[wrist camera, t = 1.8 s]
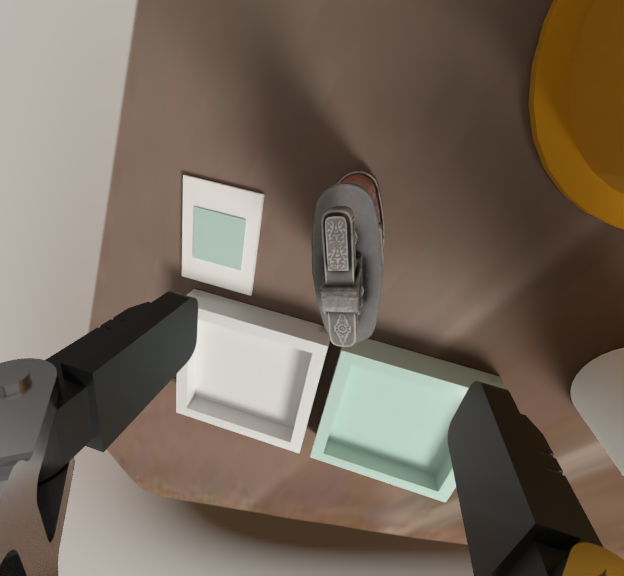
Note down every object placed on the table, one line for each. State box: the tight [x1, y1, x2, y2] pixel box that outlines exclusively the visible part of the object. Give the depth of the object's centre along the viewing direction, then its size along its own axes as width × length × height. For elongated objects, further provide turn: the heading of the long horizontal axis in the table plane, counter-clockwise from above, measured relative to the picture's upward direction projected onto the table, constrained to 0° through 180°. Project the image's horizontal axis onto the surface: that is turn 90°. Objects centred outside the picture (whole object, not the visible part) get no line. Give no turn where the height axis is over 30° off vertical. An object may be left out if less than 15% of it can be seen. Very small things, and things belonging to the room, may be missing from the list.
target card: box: [182, 175, 265, 296], centre depth 24 cm, size 8×6×1 cm
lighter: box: [312, 170, 385, 347], centre depth 18 cm, size 8×3×10 cm, turn 5°
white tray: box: [176, 289, 330, 453], centre depth 28 cm, size 12×12×2 cm
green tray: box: [310, 338, 507, 503], centre depth 26 cm, size 12×12×2 cm
